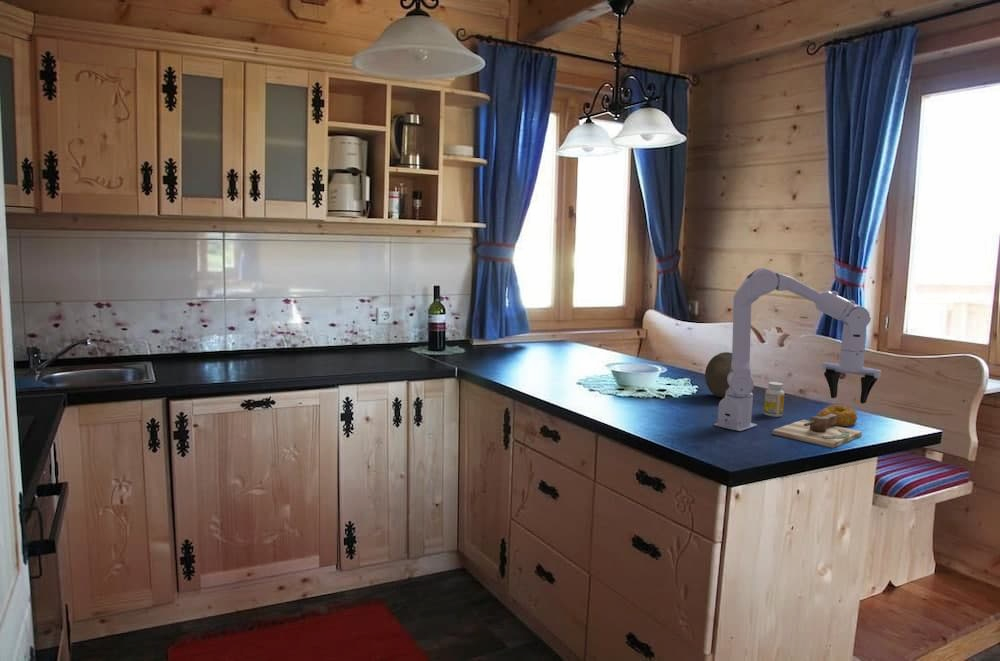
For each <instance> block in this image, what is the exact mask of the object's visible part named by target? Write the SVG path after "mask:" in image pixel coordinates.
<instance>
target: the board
mask: <svg viewBox="0 0 1000 661" xmlns="http://www.w3.org/2000/svg"><path fill="white" fill-rule="evenodd" d="M808 422H810V420H807V419H802V420H798V421H794V422H792V423H790V424H789V423H788V424H785V425H783V426H780V427H776V428H774V429H772V435H776V436H781V437H783V438H788V439H792V440H798V441H801V442H805V443H810V444H814V445H818V446H824V447H827V448H831V449H834V448H836V447H839V446H841V445H843V444H846V443H848V441H849V442H851V441H853V440H855V438H856V439H858V438H860V437H862V435H863V431H860V430H855V429H851V428H846V427H843V426H837V425H831V426H829V427H826V431H824V432H819V431H813V430H810V425H809V426H804V424H805V423H808ZM857 437H858V438H857ZM850 440H851V441H850Z"/></svg>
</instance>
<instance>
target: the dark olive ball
mask: <svg viewBox="0 0 1000 661" xmlns="http://www.w3.org/2000/svg"><path fill="white" fill-rule="evenodd" d="M731 362H732V352H724V351H723V352H720V353H718V354H716V355H714V356H712V358H711V359H710V360H709V361H708V363H707V365H706V368H705V370H704V380H705V382H706V386H707V388H708V390H709V391H710V393H711V394H713V395H714V396H715V397H718V398H722V399H723V398H724V397H725V394H726V390H727V389H728V388H729V387H730V386H729V384H728V382H727V376H728V374H729V372H730V370H731Z"/></svg>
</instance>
